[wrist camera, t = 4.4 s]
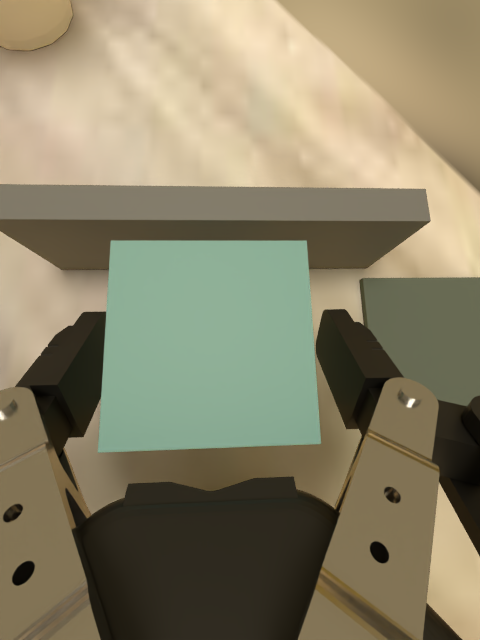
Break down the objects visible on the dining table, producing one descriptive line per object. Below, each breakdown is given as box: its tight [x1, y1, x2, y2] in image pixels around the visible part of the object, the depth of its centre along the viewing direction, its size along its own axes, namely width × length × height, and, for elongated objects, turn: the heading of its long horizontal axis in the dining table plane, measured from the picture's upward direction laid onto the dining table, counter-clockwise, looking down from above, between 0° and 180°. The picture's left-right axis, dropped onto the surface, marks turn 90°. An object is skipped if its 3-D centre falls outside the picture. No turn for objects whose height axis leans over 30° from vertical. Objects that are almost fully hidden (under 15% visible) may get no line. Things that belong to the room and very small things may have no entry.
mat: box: [360, 278, 480, 406], centre depth 16 cm, size 9×9×1 cm
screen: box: [0, 184, 431, 270], centre depth 15 cm, size 18×4×6 cm, turn 91°
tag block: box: [98, 241, 321, 453], centre depth 11 cm, size 4×5×10 cm
